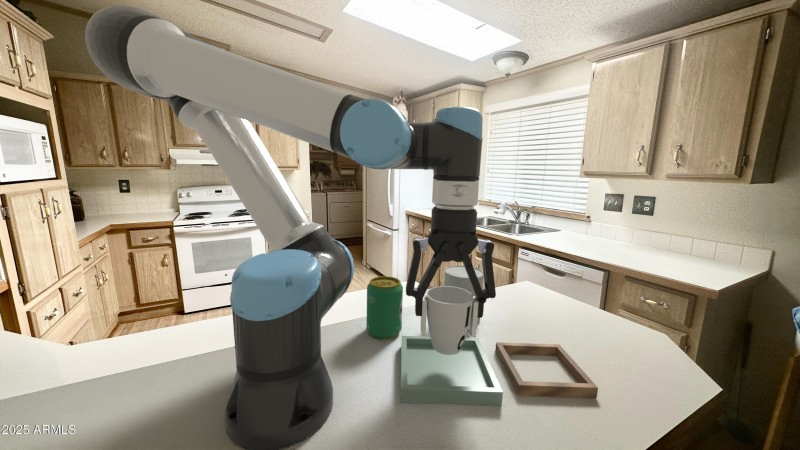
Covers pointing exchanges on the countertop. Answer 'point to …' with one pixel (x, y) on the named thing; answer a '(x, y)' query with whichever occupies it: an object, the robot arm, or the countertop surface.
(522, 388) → the frame
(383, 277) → the beverage can
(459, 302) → the cup
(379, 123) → the robot arm
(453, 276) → the grey stone cylinder
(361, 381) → the countertop surface
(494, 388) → the tray
